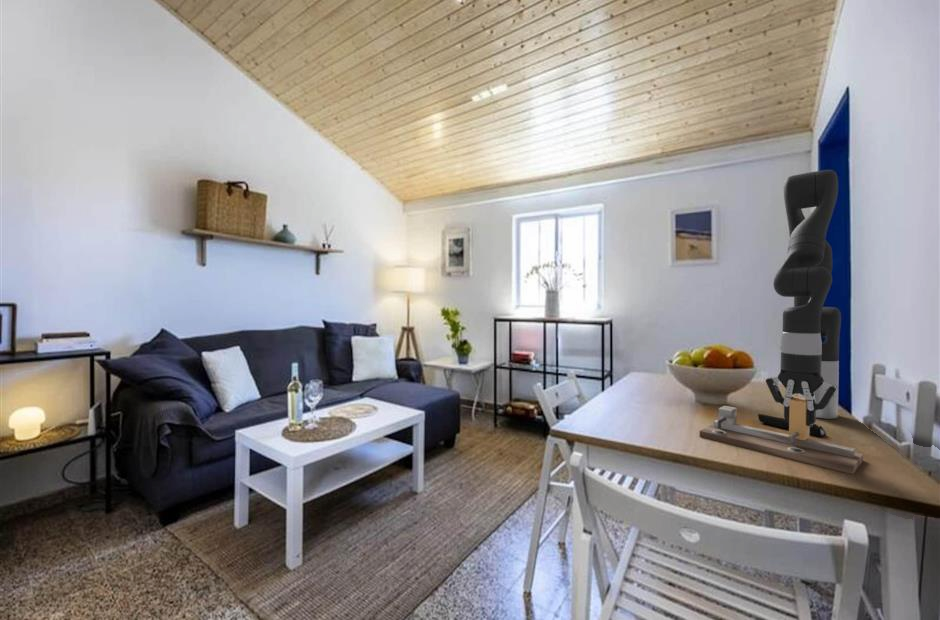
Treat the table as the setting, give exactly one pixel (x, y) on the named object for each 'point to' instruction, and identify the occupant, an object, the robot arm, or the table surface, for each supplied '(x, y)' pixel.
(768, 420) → the electric trimmer
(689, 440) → the table surface
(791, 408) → the block
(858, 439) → the table surface
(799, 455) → the bolt plate
